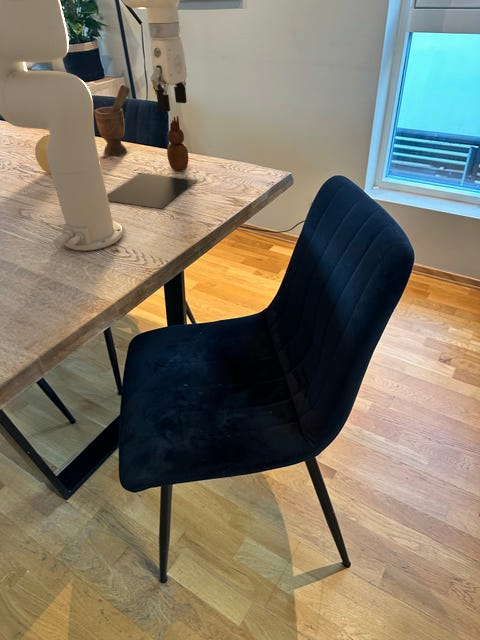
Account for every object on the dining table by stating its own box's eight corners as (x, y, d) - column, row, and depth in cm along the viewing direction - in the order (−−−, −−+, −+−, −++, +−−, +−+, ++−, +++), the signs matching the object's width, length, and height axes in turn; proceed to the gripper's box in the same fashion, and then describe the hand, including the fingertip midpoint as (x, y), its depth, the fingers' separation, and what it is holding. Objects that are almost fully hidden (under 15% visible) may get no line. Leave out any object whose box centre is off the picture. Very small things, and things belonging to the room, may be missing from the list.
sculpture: (57, 181, 121) (45, 141, 114) (33, 172, 127) (21, 134, 120) (90, 169, 128) (81, 131, 122) (66, 162, 134) (56, 125, 127)
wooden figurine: (191, 171, 125) (187, 116, 116) (172, 174, 124) (166, 118, 114) (185, 164, 130) (180, 111, 121) (167, 167, 129) (160, 113, 119)
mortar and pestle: (137, 147, 145) (127, 80, 133) (140, 154, 139) (129, 85, 127) (102, 150, 143) (88, 83, 131) (103, 158, 136) (89, 88, 124)
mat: (161, 209, 104) (161, 208, 104) (99, 200, 110) (99, 199, 110) (196, 181, 119) (196, 180, 119) (140, 174, 124) (140, 173, 124)
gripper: (161, 35, 99) (170, 115, 109) (193, 28, 111) (199, 100, 122) (133, 35, 101) (144, 113, 111) (167, 27, 113) (175, 99, 124)
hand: (173, 106), depth 117 cm, fingers open, 9 cm apart
